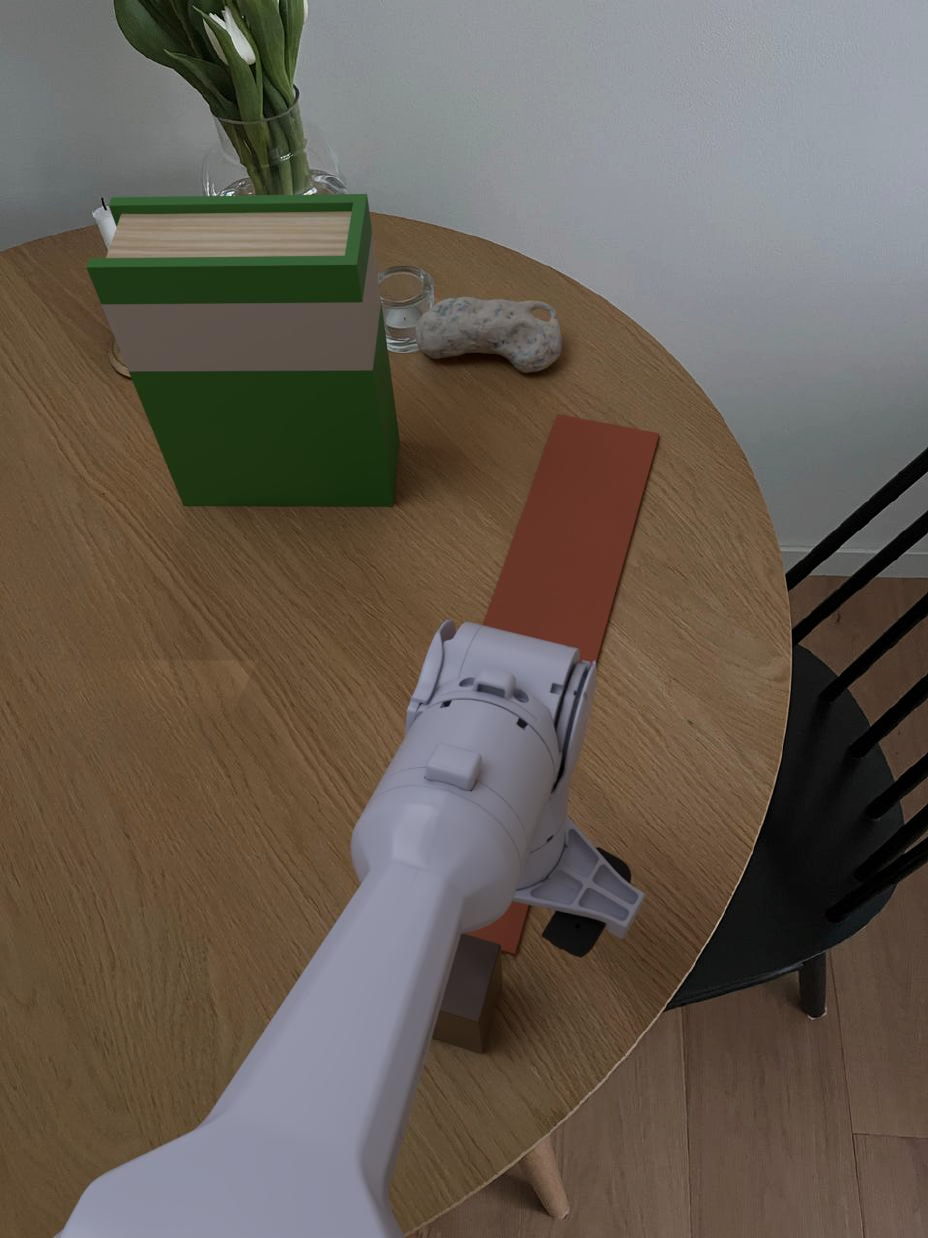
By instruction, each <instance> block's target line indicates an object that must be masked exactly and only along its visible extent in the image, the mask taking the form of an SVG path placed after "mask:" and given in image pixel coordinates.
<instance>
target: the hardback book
mask: <svg viewBox="0 0 928 1238" xmlns="http://www.w3.org/2000/svg"><path fill="white" fill-rule="evenodd" d="M108 208H109V210H110V214H111V216H112V218H113V221H114V224H115V227H116V228H115V231H114V233H113V237H112V239H111V242H110V245H109V247H108V251H107V253H106V257H89V258H88V261H87V264H86V267H85V268H86V270H87V273H88V275H89V277H90V280H91V283H92V285H93V287H94V290H95V293H96V295H97V297H98V300H99V303H100V305H101V307H102V310H103V313H104V315H105V317H106V319H107V322H108V324H109V326H110V329H111V332H112V335H113V336H114V339H115V341H116V344H117V346H118V349H119V351H120V354H121V356H122V358H123V361H124V365H125V366H126V369H127V371H128V374H129V376H130V379H131V381H132V383H133V386H134V388H135V391H136V393H137V396H138V398H139V400H140V404H141V406H142V408H143V410H144V413H145V416H146V417H147V420H148V422H149V425H150V427H151V431H152V432H153V433H152V434H153V436H154V438H155V440H156V442H157V444H158V447H159V450H160V452H161V454H162V457H163V459H164V462H165V464H166V467H167V470H168V473H169V475H170V476H171V479H172V481H173V485H174V486H175V489H176V491H177V494H178V496H179V499H180V502H181V503H182V506H184V507H186V506H188V507H189V506H190V507H193V506H194V507H195V506H196V507H198V506H200V507H394V503H395V493H396V492H395V491H396V481H397V473H398V463H399V461H398V460H399V452H400V451H399V450H400V441H401V440H400V431H399V425H398V417H397V409H396V408H397V407H396V402H395V394H394V386H393V379H392V371H391V364H390V357H389V349H388V341H387V333H386V326H385V318H384V312H383V304H382V295H381V288H380V280H379V275H378V274H379V272H378V266H377V258H376V251H375V244H374V243H375V241H374V236H373V228H372V221H371V212H370V206H369V198H368V193H332V194H331V193H329V194H328V193H327V194H322V193H321V194H260V195H258V194H257V195H255V194H253V195H251V194H249V195H183V196H181V195H180V196H176V195H175V196H173V195H172V196H112V197H110V201H109V204H108Z"/></svg>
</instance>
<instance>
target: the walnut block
mask: <svg viewBox="0 0 928 1238" xmlns="http://www.w3.org/2000/svg"><path fill="white" fill-rule="evenodd" d="M502 963H503V961H502V952H501V945H500V944H498V943H494V942H491V941H488V940H484V939H481V938H477V937H474V936H471V935H467V934H464V933H462V934H461V936H460V939H459V943H458V946H457V950H456V953H455V957H454V960H453V964H452V968H451V971H450V975H449V978H448V982H447V985H446V989H445V992H444V996H443V999H442V1003H441V1007H440V1010H439V1014H438V1017H437V1021H436V1024H435V1028H434V1031H433V1035H432V1038H431V1039H432V1040H436V1041H439V1042H443V1043H444V1044H445V1043H446V1044H448V1045H452V1046H455V1047H457V1048H461V1049H463V1050H467V1051H471V1052H474V1053H477V1054H480V1055H483V1054H484V1050H485V1048H486V1045H487V1044H486V1043H487V1040H488V1036H489V1033H490V1030H491V1026H492V1022H493V1018H494V1016H495V1012H496V1008H497V1004H498V1000H499V998H500V993H501V991H502V987H503V966H502V965H503V964H502Z"/></svg>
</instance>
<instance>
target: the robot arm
mask: <svg viewBox="0 0 928 1238" xmlns="http://www.w3.org/2000/svg"><path fill="white" fill-rule="evenodd" d="M430 643H431V644H430V645H429V647H428V650H427V653H426V656H425V658H424V661H423V664H422V667H421V670H420V673H419V675H418V676H419V677H418V680H417V684H416V687H415V689H414V691H413V694H412V695H411V697H410V700H409V703H408V704H409V705H408V706H407V709H406V717H405V718H406V719H405V733H404V734H405V735H404V738H403V740H402V741H401V743H400V745H399V747H398V749H397V751H396V752H395V753H394V756H393V757H392V759H391V761H390V763H389V765H388V766H387V768H386V770H385V771H384V773H383V775H382V777H381V779H380V780H379V782H378V784H377V786H376V788H375V789H374V791H373V793H372V795H371V797H370V798H369V800H368V802H367V804H366V806H365V807H364V810H363V811H362V813H361V814H360V816H359V818H358V820H357V822H356V823H355V825H354V828H353V830H352V833H351V840H350V857H351V861H352V865H353V869H354V872H355V874H356V877H357V879H358V882H359V883H360V885H359V887H358V888H357V890H356V891H355V892H354V894H353V895H352V897H351V899H350V900H349V902H348V903H347V905H346V906H345V908H344V910H343V911H342V912H341V914H340V915H339V917H338V918H337V920H336V921H335V923H334V924H333V926H332V927H331V928H330V930H329V932H328V934H327V935H326V936H325V938H324V939H323V941H322V943H321V944H320V946H319V947H318V949H317V950H316V951H315V953H314V955H313V956H312V958H311V959H310V961H309V962H308V963H307V965H306V966H305V969H304V970H303V971H302V972H301V974H300V976H299V977H298V979H297V981H296V982H295V983H294V985H293V986H292V987H291V989H290V991H289V993H288V994H287V996H286V997H285V998H284V1000H283V1002H282V1003H281V1005H280V1006H279V1007H278V1009H277V1011H276V1012H275V1014H274V1015H273V1016H272V1018H271V1020H270V1021H269V1023H268V1024H267V1025H266V1027H265V1028H264V1030H263V1032H262V1034H261V1035H260V1037H259V1038H258V1039H257V1041H256V1042H255V1043H254V1046H253V1047H252V1049H251V1050H250V1051H249V1053H248V1055H247V1056H246V1058H245V1059H244V1060H243V1062H242V1064H241V1065H240V1066H239V1068H238V1070H237V1071H236V1072H235V1075H233V1077H232V1079H231V1080H230V1082H229V1083H228V1085H227V1086H226V1088H225V1089H224V1091H223V1092H222V1093H221V1095H220V1097H219V1098H218V1100H217V1101H216V1103H215V1105H214V1106H213V1107H212V1109H211V1110H210V1111H209V1114H207V1116H206V1117H205V1119H204V1120H202V1122H201V1123H199V1125H198V1126H197V1127H195V1128H194V1129H193V1130H191V1131H189V1132H187V1133H185V1134H183V1135H181V1136H179V1137H177V1138H175V1139H173V1140H171V1141H168V1142H167V1143H164V1144H163V1145H160V1146H158V1147H156V1148H154V1149H152V1150H150V1151H148V1152H145V1153H144V1154H141V1155H139V1156H137V1157H135V1158H133V1159H131V1160H129V1161H126V1162H124V1163H122V1164H120V1165H118V1166H116V1167H114V1168H112V1169H110V1170H108V1171H106V1172H105V1173H103V1174H101V1175H100V1176H98V1177H96V1178H95V1179H94V1180H93V1181H92V1182H91V1183H89V1185H88V1186H87V1187H86V1188H85V1190H84V1191H83V1193H82V1194H81V1196H80V1197H79V1199H78V1201H77V1203H76V1205H75V1207H74V1208H73V1210H72V1212H71V1214H70V1216H69V1217H68V1220H67V1222H66V1224H65V1225H64V1227H63V1228H62V1230H60V1231H59V1232H57V1233H56V1234H54V1235H53V1237H52V1238H406V1236H405V1234H404V1231H403V1229H402V1228H401V1226H400V1224H399V1222H398V1220H397V1218H396V1216H395V1214H394V1212H393V1209H392V1205H391V1201H390V1187H391V1185H392V1180H393V1177H394V1173H395V1169H396V1166H397V1162H398V1158H399V1156H400V1151H401V1148H402V1144H403V1141H404V1138H405V1133H406V1130H407V1128H408V1123H409V1120H410V1116H411V1112H412V1109H413V1105H414V1102H415V1098H416V1095H417V1091H418V1088H419V1084H420V1081H421V1077H422V1073H423V1071H424V1067H425V1064H426V1059H427V1056H428V1052H429V1048H430V1045H431V1042H432V1039H433V1038H432V1035H433V1031H434V1028H435V1024H436V1021H437V1017H438V1014H439V1010H440V1007H441V1003H442V999H443V996H444V992H445V989H446V985H447V982H448V978H449V975H450V971H451V968H452V964H453V960H454V957H455V953H456V950H457V946H458V943H459V939H460V936H461V934H462V933H467V932H472V931H475V930H478V929H481V928H483V927H485V926H488V925H490V924H492V923H493V922H495V921H496V920H498V919H499V918H500V917H501V916H502V915H503V914H504V913H505V912H506V911H507V909H508V908H509V906H510V905H511V903H512V901H513V902H518V903H523V904H528V905H529V906H532V907H537V908H543V909H547V910H551V911H554V913H553V914H552V916H551V918H550V919H549V921H548V923H547V924H546V926H545V927H544V930H543V931H542V933H541V938H543V939H545V940H547V941H548V942H549V943H550V944H551V945H553V946H555V947H556V948H558V949H560V950H561V951H564V952H566V953H567V954H569V955H571V956H574V957H576V958H581V959H582V958H583V957H585V956H587V954H589V953H590V952H591V951H592V950H593V948H594V947H595V945H596V944H597V942H598V940H599V939H600V937H601V935H602V933H603V932H604V930H606V931H607V932H608V933H610V934H612V935H613V936H615V937H617V938H618V939H620V940H624V939H625V937H626V936H627V934H628V932H629V930H630V929H631V927H632V925H633V923H634V922H635V920H636V918H637V917H638V915H639V912H640V911H641V909H642V906H643V903H644V901H645V900H644V899H645V896H646V893H644V892H643V891H641V890H639V888H637V887H635V886H633V885H632V884H631V882H632V872H631V869H630V866H629V865H628V864H627V863H626V862H625V861H624V860H623V859H622V858H619V857H618V856H616V855H614V854H612V853H610V852H608V851H607V850H605V849H604V848H602V847H599V846H597V847H595V846H594V844H592V842H591V841H590V840H589V839H588V837H586V836H585V834H584V833H583V831H581V830H580V828H579V827H578V826H577V825H576V824H575V823H574V822H573V821H572V819H571V818H570V816H568V807H569V798H570V789H571V780H572V779H571V778H572V776H573V774H574V772H575V769H576V768H577V765H578V762H579V759H580V756H581V753H582V749H583V745H584V742H585V739H586V735H587V731H588V728H589V722H590V719H591V714H592V711H593V705H594V700H595V695H596V690H597V689H596V688H597V677H598V676H597V675H598V673H597V672H598V671H597V662H596V661H593V662H592V664H591V663H590V662H588V661H584V660H582V661H581V663H579V657H580V651H579V649H578V648H574V647H570V646H566V645H562V644H558V643H553V642H549V641H545V640H541V639H537V638H533V637H529V636H525V635H520V634H516V633H512V632H508V631H504V630H500V629H496V628H492V627H488V626H484V625H483V624H480V623H475V622H470V621H465V622H463V623H462V624H461V625H460V626H459V627H458V629H457V626H456V623H455V621H453V619H450V618H449V619H446V620H444V621H443V622H442V624H441V625H440V626H439V628H438V630H437V631H436V632H435V633H434V635H433V638H432V640H431V642H430Z"/></svg>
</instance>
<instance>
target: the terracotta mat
mask: <svg viewBox="0 0 928 1238" xmlns="http://www.w3.org/2000/svg"><path fill="white" fill-rule="evenodd" d="M659 439H660V433H659V432H656V431H655V432H654V431H650V430H644V429H639V428H634V427H629V426H623V425H617V424H613V423H608V422H602V421H597V420H593V419H588V418H587V419H586V418H581V417H576V416H572V415H571V416H570V415H566V414H559V413H557V414H556V415H555V418H554V422H553V424H552V427H551V430H550V433H549V435H548V438H547V441H546V444H545V447H544V449H543V452H542V455H541V458H540V461H539V464H538V467H537V470H536V473H535V475H534V478H533V480H532V484H531V486H530V489H529V493H528V495H527V498H526V501H525V504H524V506H523V509H522V512H521V515H520V517H519V520H518V524H517V525H516V529H515V531H514V535H513V538H512V540H511V543H510V546H509V550H508V551H507V554H506V557H505V560H504V563H503V565H502V568H501V571H500V574H499V578H498V580H497V583H496V586H495V589H494V592H493V594H492V597H491V600H490V602H489V606H488V609H487V611H486V614H485V617H484V619H483V623H482V625H484V626H488V627H492V628H496V629H500V630H504V631H508V632H512V633H516V634H520V635H525V636H529V637H533V638H537V639H541V640H545V641H549V642H553V643H558V644H562V645H566V646H570V647H574V648H578V649H579V651H580V657H579V663H581V661H582V660H584V661H588V662H590V663H591V664H592V662H593V661H596V663H597V662H598V658H599V654H600V652H601V648H602V643H603V640H604V636H605V633H606V630H607V625H608V622H609V619H610V615H611V611H612V607H613V605H614V600H615V597H616V593H617V590H618V586H619V583H620V579H621V575H622V573H623V572H622V571H623V568H624V564H625V561H626V557H627V553H628V549H629V546H630V543H631V540H632V536H633V533H634V529H635V525H636V521H637V517H638V514H639V510H640V507H641V502H642V500H643V497H644V493H645V489H646V485H647V482H648V478H649V474H650V471H651V466H652V463H653V461H654V460H653V459H654V455H655V452H656V449H657V446H658V443H659ZM529 907H530V905H528V904H523V903H518V902H513V901H512V903H511V905H510V906H509V908H508V909H507V911H506V912H505V913H504V914H503V915H502V916H501V917H500V918H499V919H498V920H496V921H495V922H493V923H492V924H490V925H488V926H485V927H483V928H481V929H478V930H475V931H472V932H467V933H464V934H467V935H471V936H474V937H477V938H481V939H484V940H488V941H491V942H494V943H498V944H500V945H501V953H504V954H507V955H510V956H516V954H517V951H518V947H519V943H520V940H521V936H522V932H523V930H524V926H525V923H526V918H527V915H528V911H529Z"/></svg>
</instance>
